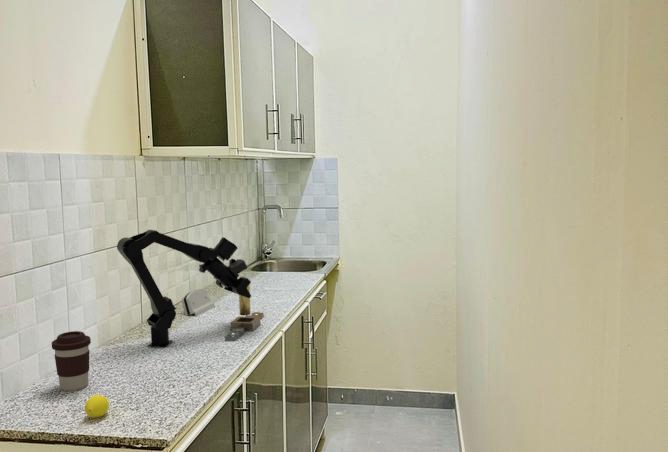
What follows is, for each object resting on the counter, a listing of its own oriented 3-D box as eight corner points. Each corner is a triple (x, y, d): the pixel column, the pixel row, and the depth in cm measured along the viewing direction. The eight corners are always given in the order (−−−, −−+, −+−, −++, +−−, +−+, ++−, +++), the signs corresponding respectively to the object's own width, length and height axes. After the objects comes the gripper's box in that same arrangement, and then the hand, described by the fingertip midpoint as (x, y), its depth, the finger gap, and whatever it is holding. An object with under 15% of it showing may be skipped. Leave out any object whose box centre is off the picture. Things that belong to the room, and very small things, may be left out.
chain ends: (241, 341, 206) (241, 332, 206) (218, 340, 208) (217, 331, 208) (269, 316, 238) (269, 309, 238) (249, 315, 240) (248, 308, 239)
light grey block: (196, 316, 240) (187, 293, 240) (186, 319, 242) (178, 296, 242) (215, 306, 256) (207, 284, 256) (206, 309, 258) (198, 287, 258)
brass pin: (246, 315, 220) (245, 282, 218) (237, 314, 221) (236, 281, 220) (252, 313, 223) (251, 280, 222) (243, 312, 225) (242, 279, 224)
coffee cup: (49, 386, 168) (45, 334, 166) (85, 377, 174) (81, 327, 173) (63, 396, 161) (59, 342, 159) (99, 386, 167) (95, 334, 166)
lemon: (93, 412, 151) (93, 391, 151) (114, 413, 150) (114, 392, 150) (78, 421, 144) (78, 398, 144) (99, 422, 143) (99, 399, 143)
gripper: (244, 256, 210) (273, 283, 217) (222, 250, 225) (249, 275, 233) (224, 281, 206) (254, 307, 214) (203, 273, 221) (231, 298, 229)
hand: (247, 296), depth 222 cm, fingers closed on brass pin, 4 cm apart
